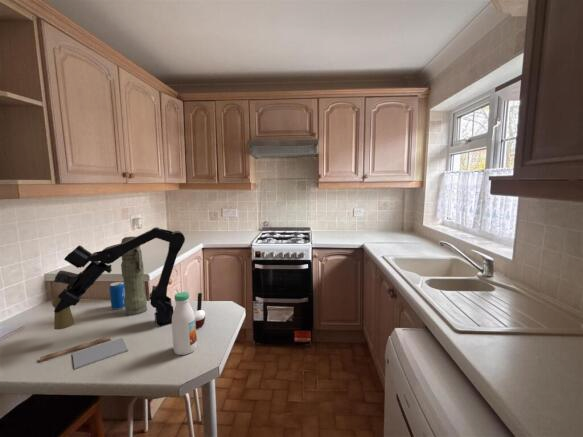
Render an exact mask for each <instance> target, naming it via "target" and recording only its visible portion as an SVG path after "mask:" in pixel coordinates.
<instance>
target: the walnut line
mask: <svg viewBox="0 0 583 437" xmlns="http://www.w3.org/2000/svg"><path fill="white" fill-rule="evenodd" d="M111 341H112V340H111V335H109V336H108V335H107V336H105V337H102V338H98V339H96V340H91V341H89V342H85V343H81V344H78V345H75V346H72V347H69V348H66V349H61V350H58V351H55V352H52V353H49V354H46V355H42V356H40V357H39V363H43V362H46V361H50V360H52V359H55V358H60V357H62V356H64V355H68V354H73V353H76V352H79V351H82V350H85V349H88V348H91V347H95V346H98V345H101V344H104V343H107V342H111ZM100 343H101V344H100ZM97 344H98V345H97Z"/></svg>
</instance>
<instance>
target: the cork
mask: <svg viewBox="0 0 583 437" xmlns="http://www.w3.org/2000/svg"><path fill="white" fill-rule="evenodd" d="M60 301H61V299H60V298H59V297H58V296H57V297H55V298H53V300H52V302H51V305H52V307H53V308H54V310H55V309H56V307H57V305H58V304H59V302H60ZM53 316H54V319H53V320H54V321H53V329H54V330H64V329H67V328H70V327H72V326H74V325H75V319H74V316H73V312H72V310H71V306H69V307H67V308H65V309H63V310H61V311H59V312H58V313H56V312H54V314H53Z"/></svg>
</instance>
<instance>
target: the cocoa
mask: <svg viewBox="0 0 583 437" xmlns="http://www.w3.org/2000/svg"><path fill="white" fill-rule="evenodd" d="M202 298H203V294H202V292H198V293H197V306H196V310H195V311H194V314H195V321H196V329H199V327H200V328H201V327H203V326H204V324H205V322H206V311H205V310H203V309H202V300H203V299H202Z"/></svg>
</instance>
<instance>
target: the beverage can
mask: <svg viewBox="0 0 583 437" xmlns="http://www.w3.org/2000/svg"><path fill="white" fill-rule="evenodd" d="M109 295H110V304H111V305H110V306H111V307H110V308H111V309H113V310H116V311H118V310H122V309H125V303H124V299H125V288H124V281H117V282H113V283H110V286H109Z"/></svg>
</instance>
